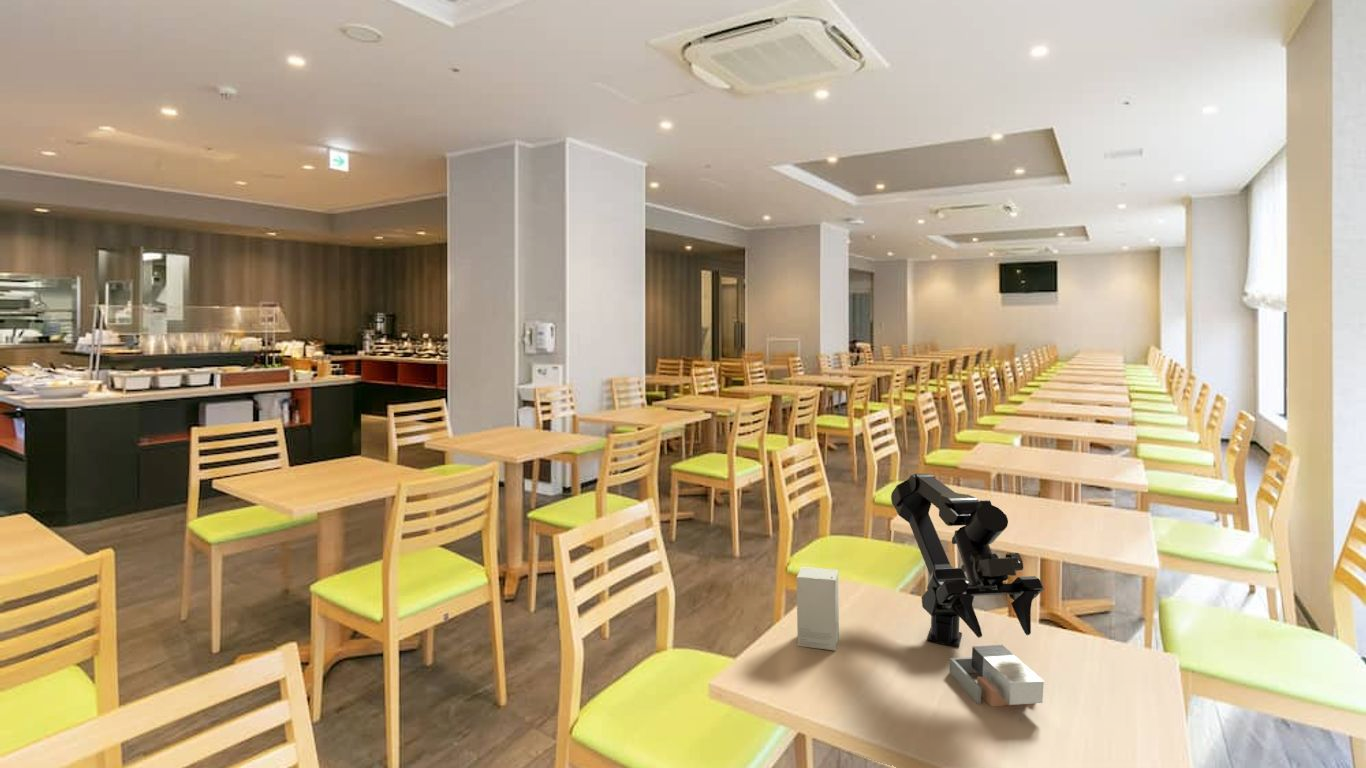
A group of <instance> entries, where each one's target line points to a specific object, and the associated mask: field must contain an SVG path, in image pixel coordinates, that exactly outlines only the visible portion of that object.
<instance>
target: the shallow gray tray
mask: <svg viewBox="0 0 1366 768" xmlns="http://www.w3.org/2000/svg"><path fill="white" fill-rule="evenodd" d="M949 674H950V675H951V676H952V678H953V679H954V680H955V681H956V682H957V683H958V684H959V685H960V686H961V688H962V689H963V690H965V692H966V693H967V694H968V695H969V696H970V697H971V698H972V699H973V700H974V702H975V703H976V704H978V705H980V704H982V696H981V689H982V688H981V687H980V686H979V685H978V684H977V681H975V679H973V677H972V676H971V675H970V674H979V673H978V672H977V671H976V670H975V669H974V668H973V667H972V656H965V657H964V656H963V657H949Z"/></svg>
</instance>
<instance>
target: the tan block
mask: <svg viewBox="0 0 1366 768" xmlns="http://www.w3.org/2000/svg"><path fill="white" fill-rule="evenodd" d="M976 683H977V684H978V685H979V686H980V687H981V688H982V689H981V698H982V699H984V700H985V702H986V703H987V704H989V706H990V707H1002V706H1003V707H1005V706H1010V705H1009V704H1008V703H1007V702H1006V701H1005V700H1004V699H1003V698H1002V697H1001V696H1000V695H999V694H998V693H997V692H996V691H995V690H994V689H993V688H992V687H991V686H990V685H989V684H988V683H987V682H986V681H985V680H984V679H983V677H982V676H981V675H979V676H977V680H976ZM1015 705H1016V706H1017V705H1018V706H1019V705H1021V704H1015ZM1015 705H1014V706H1015Z"/></svg>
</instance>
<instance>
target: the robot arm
mask: <svg viewBox="0 0 1366 768" xmlns="http://www.w3.org/2000/svg"><path fill="white" fill-rule="evenodd" d="M890 501H891V505H892V506H893V507H894V509H895V511H896V513H897V515H898V516H899V517H900V518H901V519H903V520H904V521H905V522H907V523H908V524H909V526H910V529H911V531H912V533H913V536H914V539H915V541H916V543H917V547H918V548H919V550H920V554H921V556H922V558H923V561H924V563H925V567H926V569H927V571H928V574H929V579H928V583H927V586H926V591H925V593H923V595H922V596H921V604H922V606H921V607H922V608H923V609H924V610H925V611H926V612H927V613H928V614H929V615H930V617H931V618H930V628H929V631H928V634H927V637H926V641H928V642H932V643H937V644H941V645H942V644H943V645H947V646H952V647H957V648H959V647H960V645H961V641H962V636H963V632H961V631H960V619H961V620H962V621H963V622H964V623H965V625H967V627H968V628H969V629H970V630H971V631H972V632H973V633H974V635H976V637H977V638H980V639H981V638H982V637H983V633H982V629H981V628H982V627H981V626H980V623H979V620H978V617H977V615H976V612H975V609H974V606H973V602H974V598H975V596H977V597H979V596H998V595H1002V596H1004V595H1009V599H1011V600H1013V601H1012V602H1011V603H1010V605H1011V607H1012V608H1013V611H1014V613H1015V615H1016V618H1017V620H1018V622H1019V624H1020V626H1021V628H1022V630H1023V632H1024V634H1025V635H1026V636H1029V635H1031V633H1032V629H1031V626H1032V621H1031V616H1032V613H1031V611H1032V602H1033V601H1034V599H1036V598H1037V597H1038V596H1039V594H1041V593H1042V592H1043V591H1044V590H1045V588H1044V585H1043V583H1042V580H1041V579H1039V577H1037V576H1035V575H1033V576H1030V575H1029V576H1017V573H1016V572H1017V571H1023V570H1024V562H1023V560H1022V557H1021V555H1020V553H1019V552H1011V553H1006V554H1005V557H999V556H998V555H997V553H993V551H992V549H991V547H990V545H991V544H992V543H994V542H995V541H996V540H997V538H999V536H1000V535H1001V534H1002V533H1003V532H1004V531H1005V530H1006V528H1008V525H1009V519H1008V516H1007V515H1006V513H1005V512H1003V510H1001V509H1000V508H999V507H997V506H995V505H992V502H991V500H989V499H985V500H981V499H980V500H979V499H978V498H977V497H975V496H973V495H970V494H965V493H960V492H956V491H954V490H952V489H951V488H949V486H947V485H946V484H944V483H943V482H941V481H940V480H938V479H937V478H936V477H935V474H932V473H914V474H911V475H910V476H909V478H908V479H906V480H904V481H903V482H900V483H899V484H897V485H896V486H895V488H894V489H893V490H892V492H891V494H890ZM932 505H934V506H935V507H936V508H937V509H938V516H939V518H940V520H942V521H943V523H944V524H945V525H946V526H947V527H954V526H956V527H959V526H961V527H959V528H958V530H957V529H956V530H954V535H952V538H951V544H952V545H957V549H958V552H959V555H960V558H961V561H962V565H961V566H960V567H953V566H952V565H951V563H950V561H949V558H948V555H947V553H946V551H945V549H944V547H943V544H942V542H941V540H940V537H939V535H938V533H937V531H936V528H935V526H934V523H933V521H932V518H931V516H930V514H929V513H930V509H931V506H932ZM965 572H966V573H965ZM1009 576H1017V577H1016V579H1014V580H1013V581H1012V582H1011V583H1003V582H1006V581H1007V580H1008V579H1009Z"/></svg>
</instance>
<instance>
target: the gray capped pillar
mask: <svg viewBox="0 0 1366 768" xmlns="http://www.w3.org/2000/svg"><path fill="white" fill-rule="evenodd" d="M971 652H972V653H971V657H972V667H973V668H974V669H975V670H976V671H977V672H978V673H977V674H978V675H979V676H982V677H983V679H984V680H985V681H986V682H987V683H988V684H989V685H990V686H991V687H992V688H993V689H994V690H995V691H996V692H997V693H998V694H999V695H1000V696H1001V697H1002V698H1003V699H1004V700H1005V701H1006V702H1007V703H1008V704H1009V705H1008V706H1015V704H1020V705H1030V704H1042V703H1043V701H1044V700H1043V699H1044V697H1043V696H1044V683H1045V682H1044V680H1043V679H1042V678H1041V677H1040V676H1038V675H1037V674H1036V673H1035V672H1034V671H1033V670H1032V669H1031V668H1030V667H1028V666H1027V664H1025V663H1024V662H1022V661H1021V660H1020V659H1019V658H1018V657H1017V656H1015V654H1014V653H1012V652H1011V651H1010V650H1009V649H1007V647H1006V646H1004V645H1003V644H997V645H996V644H995V645H994V644H993V645H976V646H975V645H974V646H972V651H971Z"/></svg>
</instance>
